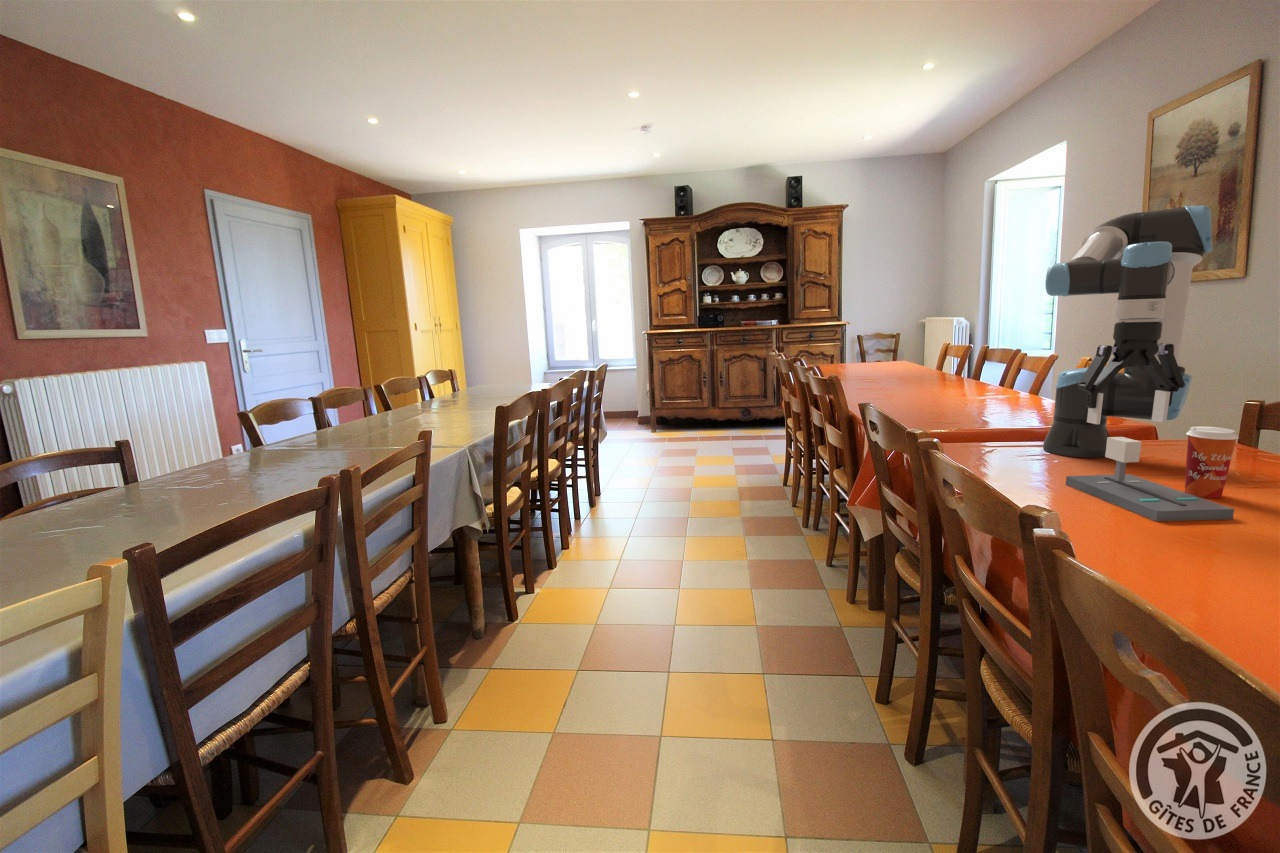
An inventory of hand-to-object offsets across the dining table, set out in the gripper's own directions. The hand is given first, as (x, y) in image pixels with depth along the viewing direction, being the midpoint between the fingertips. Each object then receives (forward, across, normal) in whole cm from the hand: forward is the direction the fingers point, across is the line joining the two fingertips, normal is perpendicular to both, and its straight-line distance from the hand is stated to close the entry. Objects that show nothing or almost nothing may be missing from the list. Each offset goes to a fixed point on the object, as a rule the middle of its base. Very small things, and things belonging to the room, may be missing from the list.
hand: (1125, 422), depth 122 cm
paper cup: (+15, +15, -3) cm, 22 cm away
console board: (+15, 0, -6) cm, 16 cm away
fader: (+13, 0, 0) cm, 13 cm away
